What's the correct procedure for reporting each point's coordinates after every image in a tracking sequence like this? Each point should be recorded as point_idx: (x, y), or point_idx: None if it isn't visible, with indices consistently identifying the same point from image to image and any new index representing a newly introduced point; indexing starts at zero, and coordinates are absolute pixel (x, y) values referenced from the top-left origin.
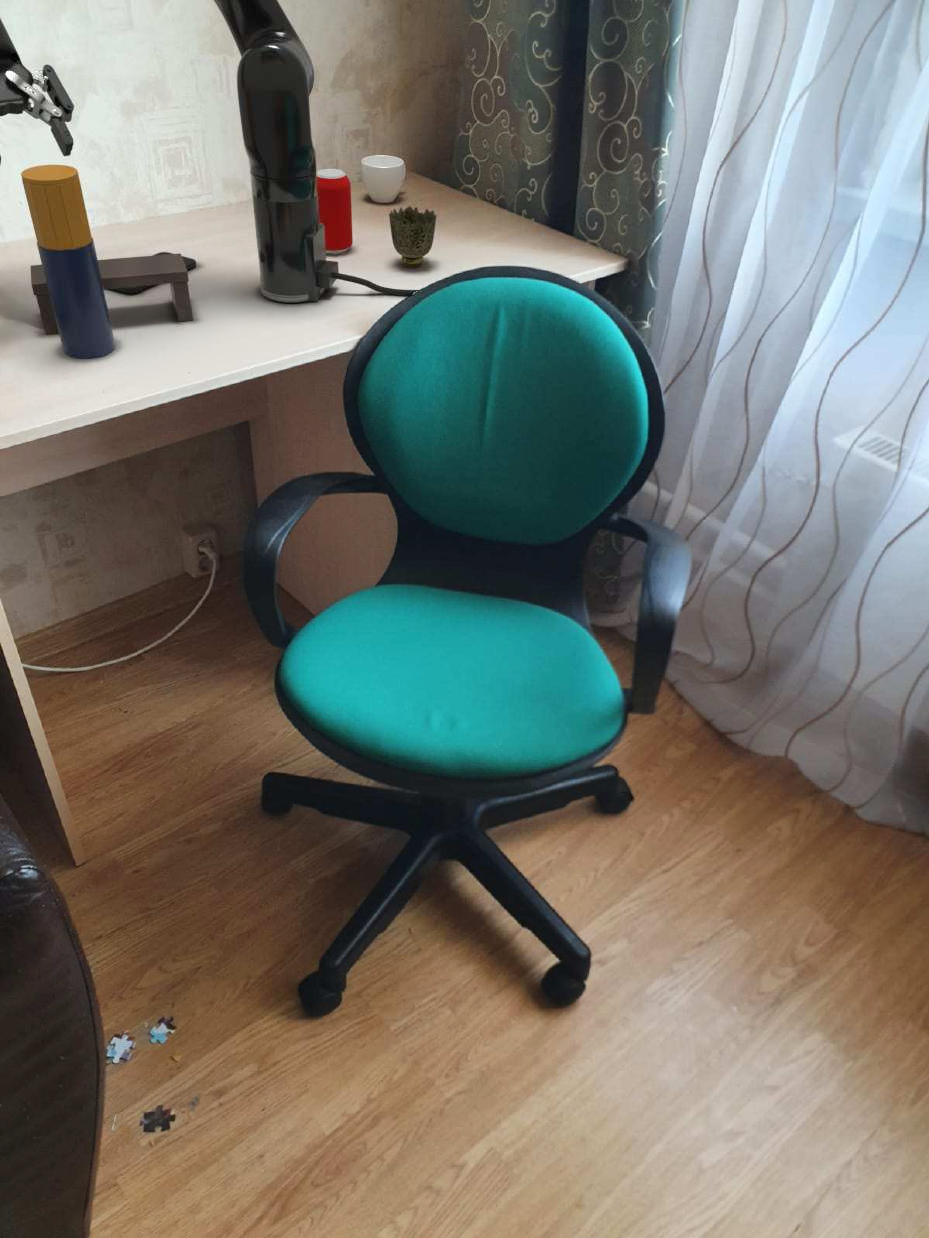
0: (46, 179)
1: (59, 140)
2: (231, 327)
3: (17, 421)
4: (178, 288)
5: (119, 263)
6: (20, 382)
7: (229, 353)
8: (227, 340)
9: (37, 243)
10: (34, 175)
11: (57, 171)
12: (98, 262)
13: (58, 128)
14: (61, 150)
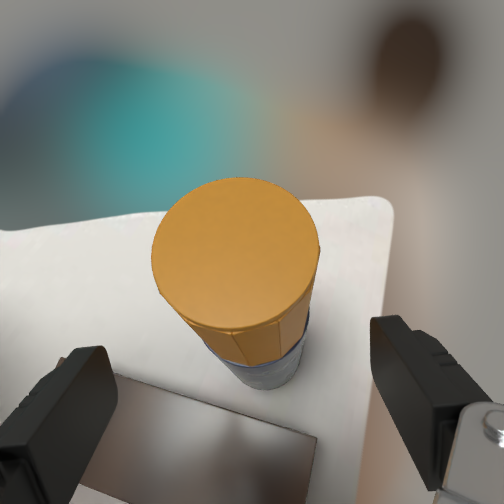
0: (263, 187)
1: (88, 410)
2: (79, 321)
3: (387, 212)
4: None
5: (132, 464)
6: (370, 297)
7: (126, 254)
8: (107, 288)
9: (307, 320)
10: (283, 231)
11: (209, 242)
12: (162, 496)
13: (53, 400)
14: (107, 414)
